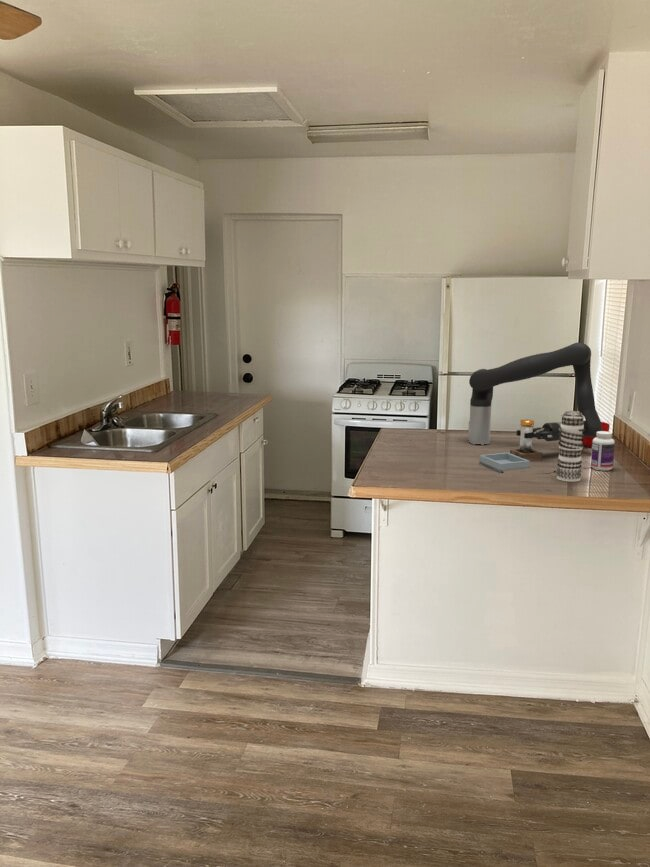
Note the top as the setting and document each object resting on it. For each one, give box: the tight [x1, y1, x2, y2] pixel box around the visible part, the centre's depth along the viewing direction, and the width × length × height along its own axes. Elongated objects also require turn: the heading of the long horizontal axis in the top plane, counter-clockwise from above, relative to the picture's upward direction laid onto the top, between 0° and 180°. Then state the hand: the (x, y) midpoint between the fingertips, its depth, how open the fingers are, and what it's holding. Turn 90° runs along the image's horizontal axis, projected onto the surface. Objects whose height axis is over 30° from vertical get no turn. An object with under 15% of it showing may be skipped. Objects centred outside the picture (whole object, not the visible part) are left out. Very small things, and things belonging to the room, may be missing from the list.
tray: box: [479, 452, 531, 474], centre depth 280 cm, size 15×13×4 cm
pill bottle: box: [590, 431, 616, 472], centre depth 275 cm, size 8×8×14 cm
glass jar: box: [518, 418, 535, 453], centre depth 287 cm, size 5×5×14 cm
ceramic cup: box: [582, 421, 610, 448], centre depth 313 cm, size 13×17×10 cm
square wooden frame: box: [509, 448, 543, 462], centre depth 289 cm, size 9×9×4 cm
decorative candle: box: [556, 410, 585, 483], centre depth 261 cm, size 9×9×25 cm
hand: (521, 434), depth 286 cm, fingers closed on glass jar, 4 cm apart
